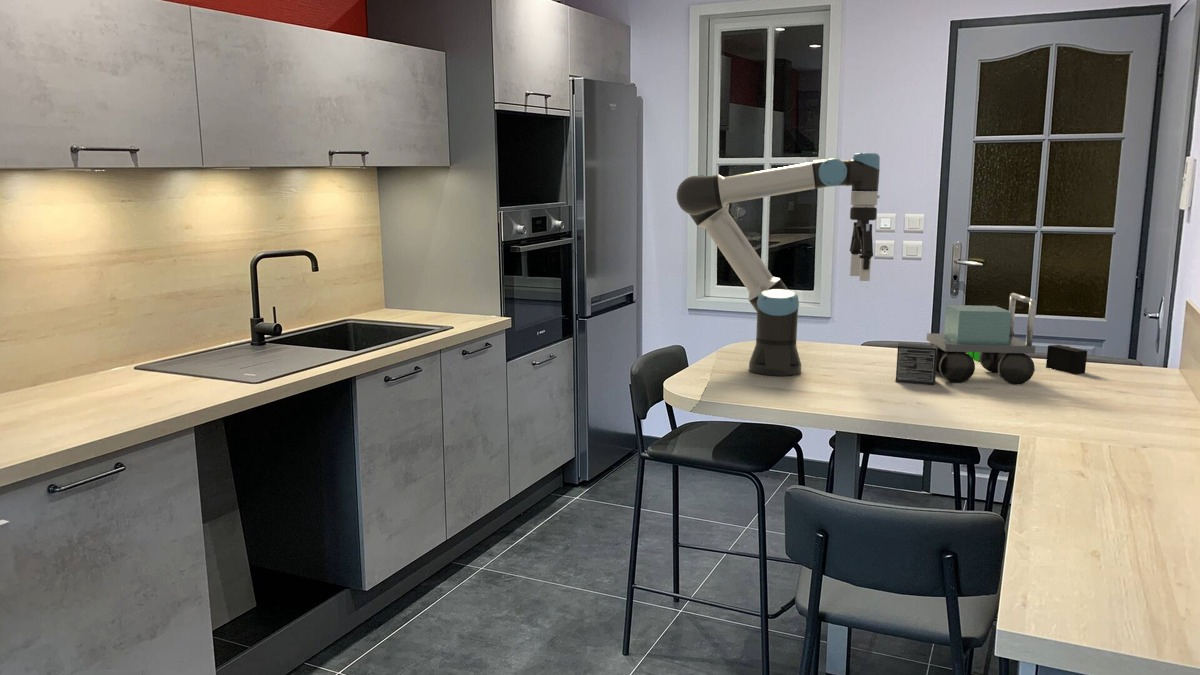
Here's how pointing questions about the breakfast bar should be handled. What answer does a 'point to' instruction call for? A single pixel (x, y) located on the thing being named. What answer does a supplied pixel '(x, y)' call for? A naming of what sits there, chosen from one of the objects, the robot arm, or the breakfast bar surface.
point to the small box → (916, 363)
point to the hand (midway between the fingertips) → (859, 278)
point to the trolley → (985, 342)
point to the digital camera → (1066, 359)
